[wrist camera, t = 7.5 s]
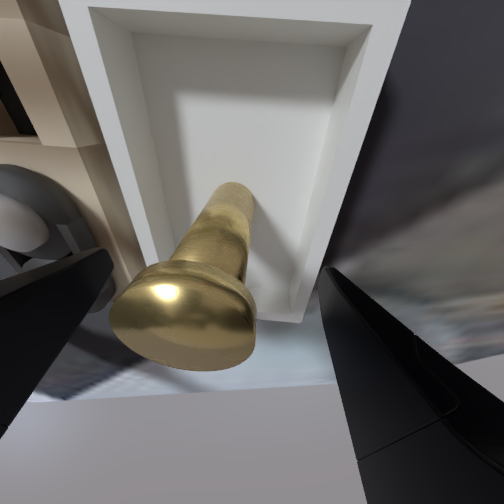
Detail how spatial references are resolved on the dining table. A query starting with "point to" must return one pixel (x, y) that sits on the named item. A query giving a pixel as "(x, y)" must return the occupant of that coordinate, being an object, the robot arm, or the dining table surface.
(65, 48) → the plate
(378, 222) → the dining table surface
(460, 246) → the dining table surface
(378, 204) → the dining table surface
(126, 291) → the lock pin
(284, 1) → the tray
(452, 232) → the dining table surface
